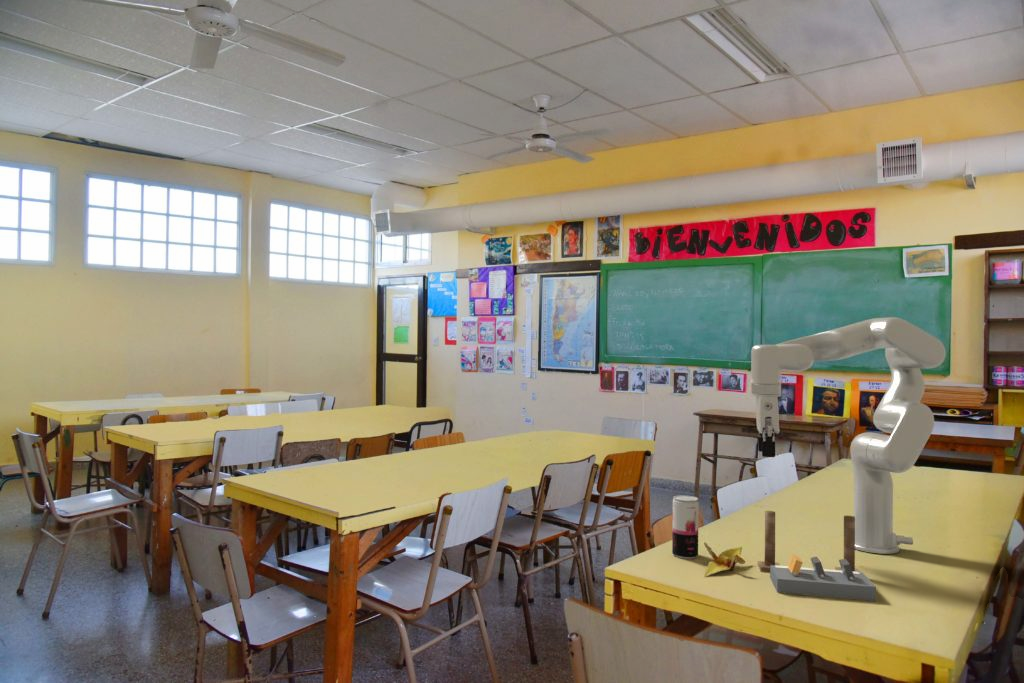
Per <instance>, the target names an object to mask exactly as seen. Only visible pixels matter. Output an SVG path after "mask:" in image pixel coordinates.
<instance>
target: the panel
mask: <svg viewBox="0 0 1024 683" xmlns="http://www.w3.org/2000/svg"><path fill="white" fill-rule="evenodd" d="M788 567H789V565H781V566H778V565H770V572H769V578H771V579H770V581H771V582H772V584H773V587H774V586H775V587H774V589H775V591H776V592H777V593H778V592H779V594H789V595H792V594H793V595H804V596H815V597H826V598H836V599H850V600H861V601H872V602H873V601H874V602H877V586H876V585H875V584H874V583H873V582H872V581H871V580H870V579H869V578H868V577H867V575H865V573H864V572H862V571H860V572H855V571H852V572H853V575H854V577H855V578H854V580H853V581H851V580H850V579H849V580H848V579H847V578H846V576H845V575H844V574H843V571H842V570H835V569H830V568H829V569H827V568H823V570H824V573H825V576H824V578H821V577H818V575H817V574H816V572H815V570H814V567H805V566H804V567H802V566H801V568H800V571H799V574H798V575H797V576H794V575H793V574H792V573H791V571H790V570H789V568H788Z"/></svg>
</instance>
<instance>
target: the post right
mask: <svg viewBox="0 0 1024 683" xmlns="http://www.w3.org/2000/svg"><path fill="white" fill-rule="evenodd" d="M843 559H846V560H847V561H848V562H849V564H850V566H851V569H852V571H855V572H861V571H860V569H858V568H856V565H855V564H856V549H855V517H854V515H843ZM834 570H842V568H841V566H834Z"/></svg>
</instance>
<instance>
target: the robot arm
mask: <svg viewBox="0 0 1024 683" xmlns="http://www.w3.org/2000/svg"><path fill="white" fill-rule="evenodd" d="M880 349H885V351H884V356H885V359H886V363H887V364H888V366H889V369H890V373H891V374H890V375H891V380H890V382H889V385H888V388H887V389H886V391H885V393H884V395H883V396H882V398H881V400H880V402H879V404H878V405H877V407H876V409H875V411H874V413H873V416H872V422H873V425H874V426H875V427H876V429H878V430H879V431H881V432H883V433H878V432H871V431H870V432H862V433H860V434H857V435H856V436H855V437H854V438H853V439H852V440H851V442H850V446H849V447H850V450H849V451H850V458H851V464H852V468H853V517H855V550H858V551H861V552H865V553H871V554H881V555H882V554H883V555H888V554H889V555H892V554H897V553H899V552H900V545H901V544H902V545H903V544H904V545H914V538H913V537H911V536H904V535H897V534H896V533H895V532H894V483H893V478H892V475H891V473H892V474H893V473H895V474H903V473H906V472H908V471H909V470H910V469H912V468H913V466H914V465H915V463H916V462H917V460H918V459H919V457H920V455H921V453H922V451H923V449H925V445H926V444H927V442H928V440H929V438H930V437H931V435H932V433H933V430H934V427H935V416H934V414H933V413H934V412H932V410H931V408H930V407H929V406H928V405H926V404H924V403H922V402H921V400H922V398H923V395H924V393H925V389H926V384H925V380H924V377H923V373H922V369H923V370H926V369H928V370H929V369H935V368H937V367H939V366H941V365H942V363H943V362H944V361H945V359H946V355H947V352H946V348H945V346H944V344H943V343H942V341H941V340H939V339H938V337H935V335H932V334H930V333H929V332H927V331H925V330H923V329H922V328H920V327H918V326H917V325H915V324H913V323H911V322H909V321H907V320H905V319H903V318H900V317H896V316H894V317H893V316H892V317H891V316H889V317H879V318H878V317H875V318H870V319H865V320H862V321H859V322H854V323H852V324H847V325H844V326H841V327H837V328H833V329H831V330H830V329H829V330H826V331H822V332H818V333H814V334H810V335H808V336H807V335H806V336H802V337H798V338H795V339H791V340H787V341H783V342H780V343H776V344H756V345H753V346H752V348H751V351H750V365H751V368H750V370H751V372H750V373H751V374H750V376H751V378H750V379H751V380H750V381H751V386H750V387H751V388H750V389H751V390H750V391H751V393H750V394H751V395H750V396H753V397H755V414H756V415H755V418H756V429H757V431H758V437H757V439H758V440H757V441H758V442H757V443H758V444H757V446H758V447H757V450H758V452H761V456H762V457H763V458H775V457H776V440H775V434H776V435H778V434H779V433H780V423H779V422H780V421H779V420H780V418H779V416H780V415H779V413H780V412H779V401H778V400H779V399H778V397H782V372H790V373H791V372H792V373H793V372H794V373H800V372H804V371H806V370H809V369H810V368H811V367H812V365H813V364H814V363H816V362H830V361H831V362H833V361H838V360H844V359H848V358H852V357H854V356H859V355H860V354H864V353H868V352H872V351H874V350H880ZM884 433H887V434H884ZM888 434H890V435H888Z"/></svg>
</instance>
